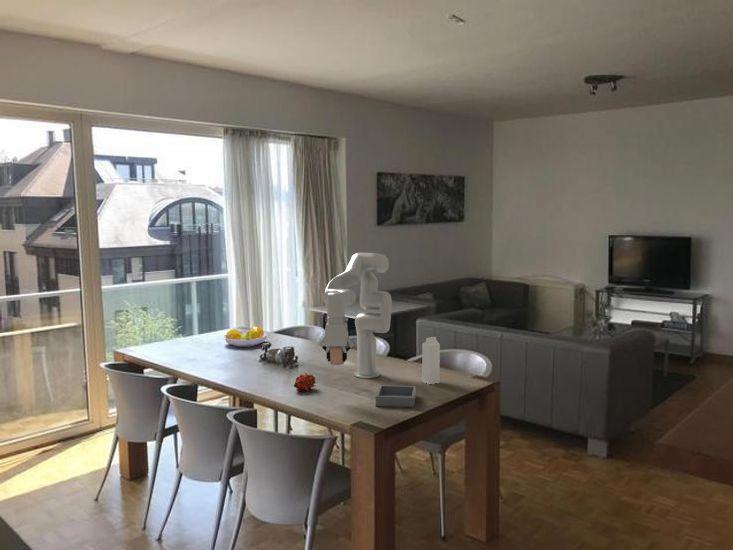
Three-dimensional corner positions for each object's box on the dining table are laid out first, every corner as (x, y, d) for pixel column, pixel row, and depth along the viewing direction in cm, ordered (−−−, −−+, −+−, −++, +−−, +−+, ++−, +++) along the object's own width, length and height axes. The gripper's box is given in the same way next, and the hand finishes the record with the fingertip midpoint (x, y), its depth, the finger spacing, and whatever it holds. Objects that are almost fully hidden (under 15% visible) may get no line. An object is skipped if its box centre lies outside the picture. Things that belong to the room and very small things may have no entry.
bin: (380, 394, 265) (379, 385, 265) (415, 395, 263) (415, 386, 263) (375, 406, 250) (375, 396, 249) (413, 408, 247) (413, 397, 247)
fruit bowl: (229, 340, 378) (228, 322, 376) (271, 339, 378) (271, 322, 376) (217, 350, 350) (217, 331, 349) (263, 350, 350) (263, 331, 348)
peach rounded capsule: (331, 361, 262) (331, 345, 261) (344, 361, 261) (344, 346, 260) (328, 364, 256) (328, 349, 255) (342, 365, 255) (342, 349, 254)
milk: (439, 383, 282) (440, 337, 279) (429, 385, 279) (430, 339, 276) (431, 380, 287) (432, 335, 285) (421, 381, 284) (422, 336, 281)
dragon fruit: (317, 391, 276) (296, 400, 269) (308, 378, 280) (286, 386, 273) (322, 379, 271) (300, 388, 264) (312, 366, 275) (290, 375, 268)
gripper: (357, 318, 258) (357, 359, 261) (318, 318, 261) (319, 358, 263) (354, 322, 251) (355, 363, 253) (314, 321, 253) (315, 362, 256)
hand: (336, 360), depth 258 cm, fingers closed on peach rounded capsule, 6 cm apart
